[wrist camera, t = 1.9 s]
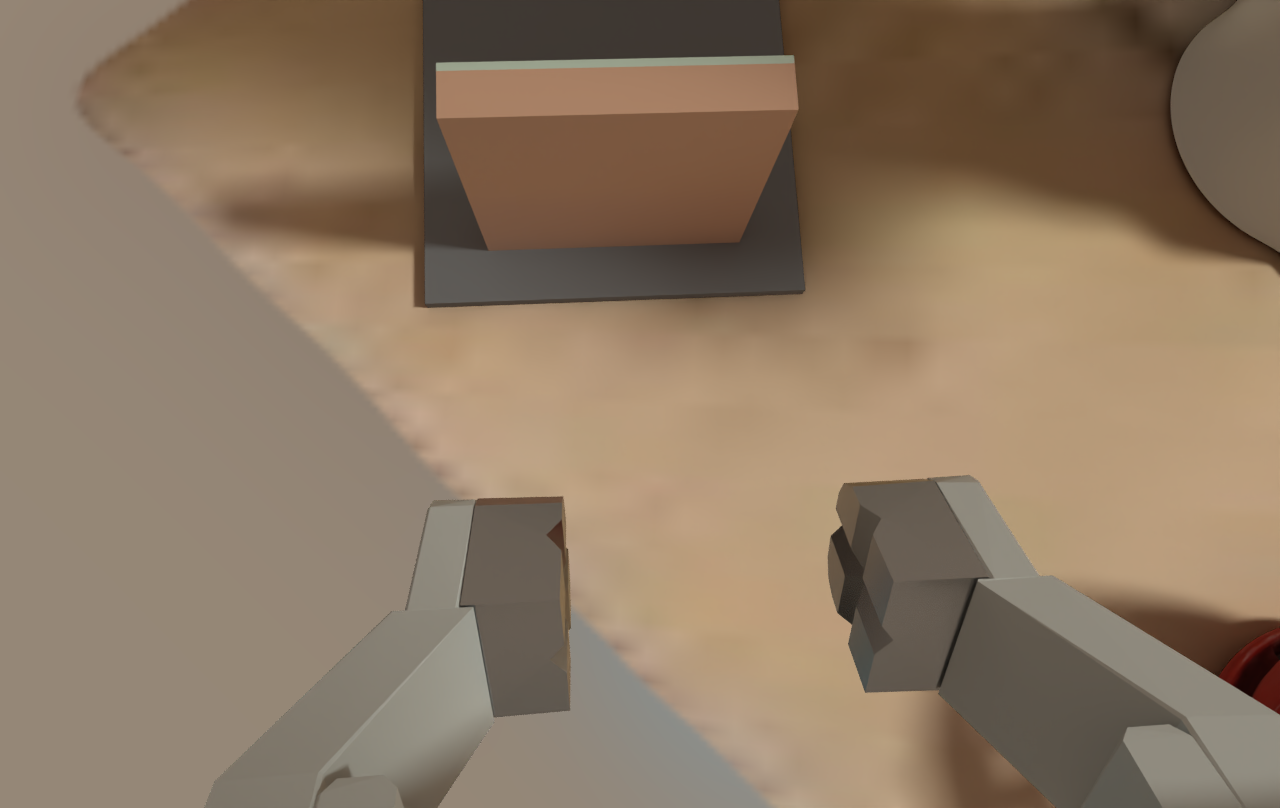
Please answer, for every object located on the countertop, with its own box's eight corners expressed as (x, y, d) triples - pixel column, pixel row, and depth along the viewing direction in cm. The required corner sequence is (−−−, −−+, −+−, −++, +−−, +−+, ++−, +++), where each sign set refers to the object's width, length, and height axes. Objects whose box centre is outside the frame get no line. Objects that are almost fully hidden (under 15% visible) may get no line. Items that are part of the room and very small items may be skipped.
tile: (736, 203, 39) (793, 55, 27) (739, 242, 39) (798, 109, 27) (487, 210, 38) (436, 62, 26) (488, 250, 38) (436, 118, 26)
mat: (769, -70, 42) (771, -79, 42) (802, 293, 39) (805, 290, 38) (425, -66, 41) (422, -75, 41) (427, 307, 38) (425, 303, 37)
